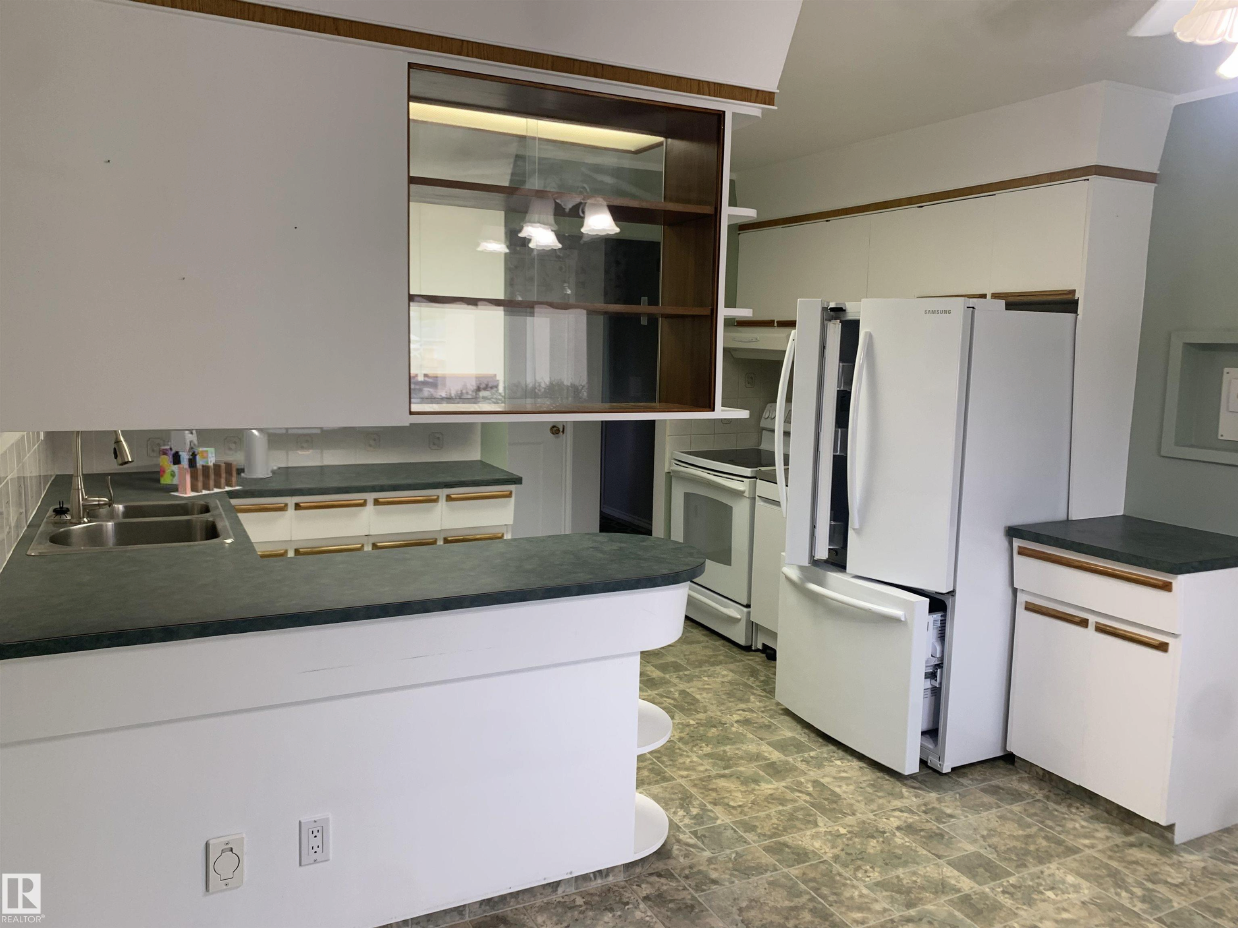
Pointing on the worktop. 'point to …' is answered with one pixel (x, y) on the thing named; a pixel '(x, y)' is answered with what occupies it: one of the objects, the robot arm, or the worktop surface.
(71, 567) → the worktop surface
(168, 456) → the snack box
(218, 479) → the domino
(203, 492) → the domino mat
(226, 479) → the domino
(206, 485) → the domino
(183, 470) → the domino
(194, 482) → the domino
